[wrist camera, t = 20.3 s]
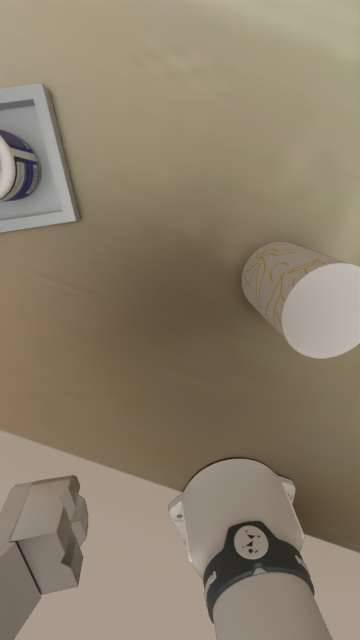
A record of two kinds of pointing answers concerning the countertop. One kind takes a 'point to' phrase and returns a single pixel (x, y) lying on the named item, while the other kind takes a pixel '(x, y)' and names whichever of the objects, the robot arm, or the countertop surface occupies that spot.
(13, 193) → the pill bottle
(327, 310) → the cup
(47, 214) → the tray
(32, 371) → the countertop surface
